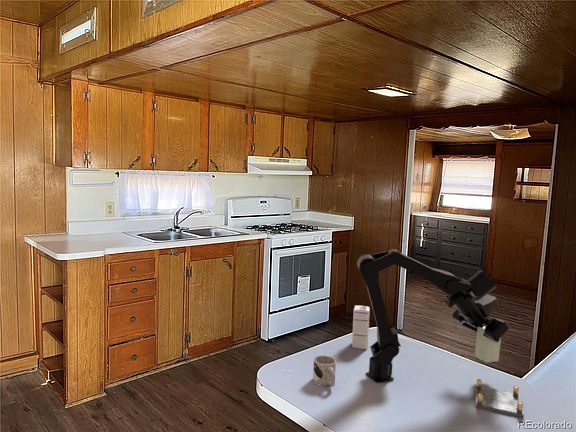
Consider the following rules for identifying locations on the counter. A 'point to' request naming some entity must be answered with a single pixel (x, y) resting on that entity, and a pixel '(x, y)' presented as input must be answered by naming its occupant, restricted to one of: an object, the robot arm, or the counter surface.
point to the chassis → (498, 400)
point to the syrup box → (360, 327)
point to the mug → (324, 370)
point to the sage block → (486, 347)
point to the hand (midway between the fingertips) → (492, 338)
